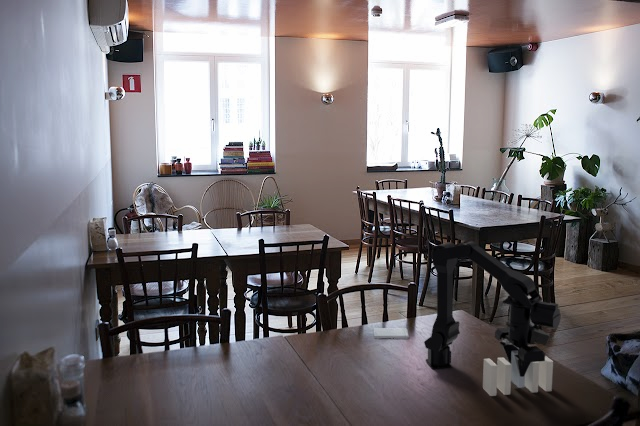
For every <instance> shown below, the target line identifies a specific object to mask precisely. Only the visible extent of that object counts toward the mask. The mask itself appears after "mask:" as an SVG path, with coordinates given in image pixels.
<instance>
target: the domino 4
mask: <svg viewBox="0 0 640 426" xmlns="http://www.w3.org/2000/svg"><path fill="white" fill-rule="evenodd" d="M538 381H539V362H531V363H530V365H529V367H528V369H527V371H526V373H525V387H524V388H526V389H527V390H528V391H530V393H538V392H539V385H538Z"/></svg>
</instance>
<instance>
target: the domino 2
mask: <svg viewBox="0 0 640 426" xmlns="http://www.w3.org/2000/svg"><path fill="white" fill-rule="evenodd" d="M496 361H497V363H496V365H497V389H498V390H499V391H500V392H501V393H502V394H503V395H504V396H507V395H511V387H512V386H511V385H512V381H511V366H512V365H511V364H510V363H509V362H508V360H507V358H505V357H497V359H496Z"/></svg>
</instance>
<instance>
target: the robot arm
mask: <svg viewBox="0 0 640 426" xmlns="http://www.w3.org/2000/svg"><path fill="white" fill-rule="evenodd" d="M464 257H466V258H468V259H469V260H470V261H471V262H473V263H474V264H476V265H477V266H479V267H480V268H481V269H482V270H483V271H485V272H487V273H488V275H490V276H492V277H493V278H494V279H495V280H497V282H499V284H500V286H501V287H502V289H503V290H504V291H505V292H506V293H507V294H508V296H507V297H506V298H505V299H504V300H502V302H501V303H503V304H504V305H508V306H509V315H508V316H509V318H508V319H509V320H508V321H506V322H505V323H506V324H505V326H507V327H503V328H501V327H500V328H497V329H496V330H495V331H494V339H496V340H497V342H498V341H499V345H500V346H501V348H502V350H503V353H504V354H505V357H506V360H507V361H508V362H509V363H510V364H511V351H516V350H517V351H518V355H514V357H515V360H516V364H517V368H518V371H519V374H520V376H521V377H524V376H525V373H526V371H527V369H528V367H529V365H530V363H531V362H539V361H545V356H546V352H544V350H543V349H541V348H540V347H538V346H537V345H535V343H538V344H540V345H542V346H544V347H545V346H546V347H547V345H548V343H549V340H550V337H551V335H550V334H549V333H547V332H545V331H544V330H542V329H540V327H543V328H547V329H548V328H549V329H552V330H557V329H558V327H559V325H560V322H561V317H562V316H561V311H560V308H559V304H558V303H555V302H546V301H543V300H544V299H543V297H542V296H541V295H540V292H539V291H538V289H537V288H536V284H535V280H533V278H531V277H530V276H528V275H526V274H524V273H523V272H521V271H518V270H513V269H511V268H510V267H508V266H506V265H505V264H504V263H503V262H501V261H500V260H498V259H497V258H495V257H494V256H492V254H490V253H489V252H487V251H486V250H485V249H483V248H482V247H480V246H479V244H477V242H475V241H469V242H461V243H456V244H454V243H453V242H451V241H450V242H449V241H447V242H444V243H441V244H438V245H435V247H433V248H432V250H431V261H432V265H433V267H434V269H435V271H436V318H435V320H434V323H433V325H432V330H431V335H430V336H429V337H428V338H427V339H425V341H424V342H423V344H424V347H425V349H427V358H426V359H425V363H427V364H428V366H429V367H430V368H431V369H432V370H436V369H437V370H438V369H449V368H450V369H451V368H452V365H451V364H452V351H451V347H450V345H452V344H453V343H454V341H455V340H456V339H458V335H460V333H461V332H460V321H458V320H457V321H456V320H455V318H454V313H453V312H454V311H453V307H454V306H453V305H454V304H453V302H454V298H453V295H454V287H453V285H454V281H453V280H454V270H455V269H456V266H457V263H458V258H459V259H460V258H464ZM529 345H533V346H529Z"/></svg>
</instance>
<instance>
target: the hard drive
mask: <svg viewBox="0 0 640 426" xmlns="http://www.w3.org/2000/svg"><path fill="white" fill-rule="evenodd" d="M372 329H373V330H374V332H373V338H374V339H378V338H391V340H393V338H394V340H396V339H397V340H398V339H399V340H401V339H402V340H406V339H407V340H408V339H410V337H409V331H408V329H407V328H405V327H404V328H403V327H402V328H401V327H400V328H396V327H393V328H392V327H391V328H390V327H388V328H387V327H373V328H372ZM373 330H372V331H373Z"/></svg>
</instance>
